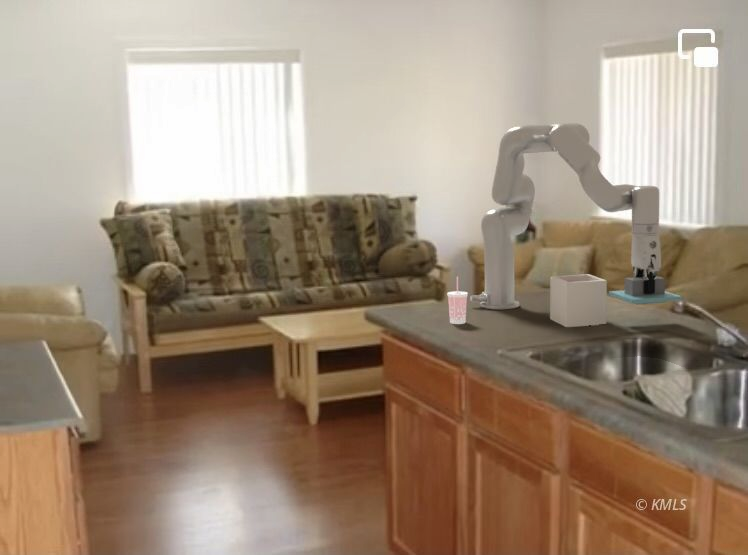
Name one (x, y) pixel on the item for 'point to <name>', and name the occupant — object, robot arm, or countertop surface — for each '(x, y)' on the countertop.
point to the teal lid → (636, 292)
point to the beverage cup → (457, 306)
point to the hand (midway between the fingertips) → (644, 291)
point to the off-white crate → (578, 300)
